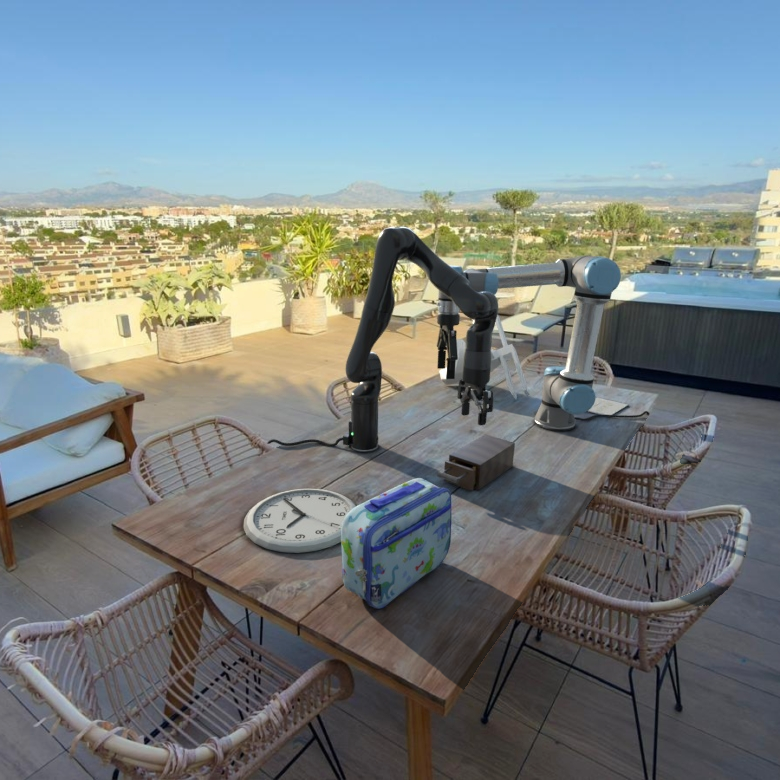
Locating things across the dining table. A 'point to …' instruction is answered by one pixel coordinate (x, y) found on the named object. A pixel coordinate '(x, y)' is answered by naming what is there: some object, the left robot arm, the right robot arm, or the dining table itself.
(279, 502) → the wall clock
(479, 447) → the cabinet
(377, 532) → the lunch box
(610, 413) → the invitation card
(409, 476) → the dining table surface
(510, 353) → the white plastic object
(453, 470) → the drawer
